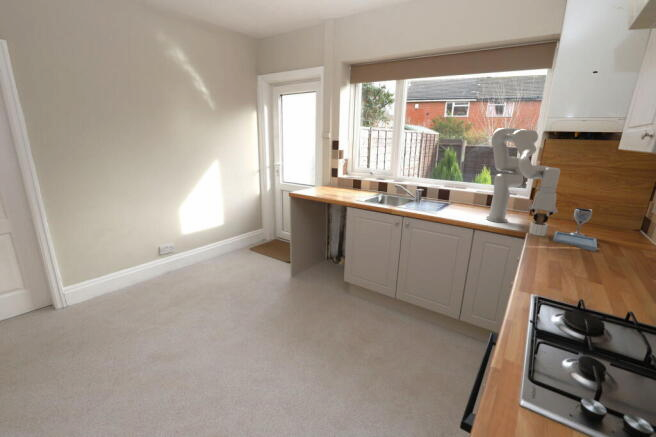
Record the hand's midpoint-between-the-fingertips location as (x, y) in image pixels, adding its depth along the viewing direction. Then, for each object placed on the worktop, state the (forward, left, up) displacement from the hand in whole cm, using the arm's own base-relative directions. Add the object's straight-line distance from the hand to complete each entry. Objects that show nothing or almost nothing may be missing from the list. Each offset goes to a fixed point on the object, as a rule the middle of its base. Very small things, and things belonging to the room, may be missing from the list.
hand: (539, 221), depth 173 cm
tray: (+11, +13, -8) cm, 19 cm away
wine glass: (-4, +27, -8) cm, 29 cm away
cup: (0, 0, -8) cm, 8 cm away
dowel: (0, 0, -7) cm, 7 cm away
